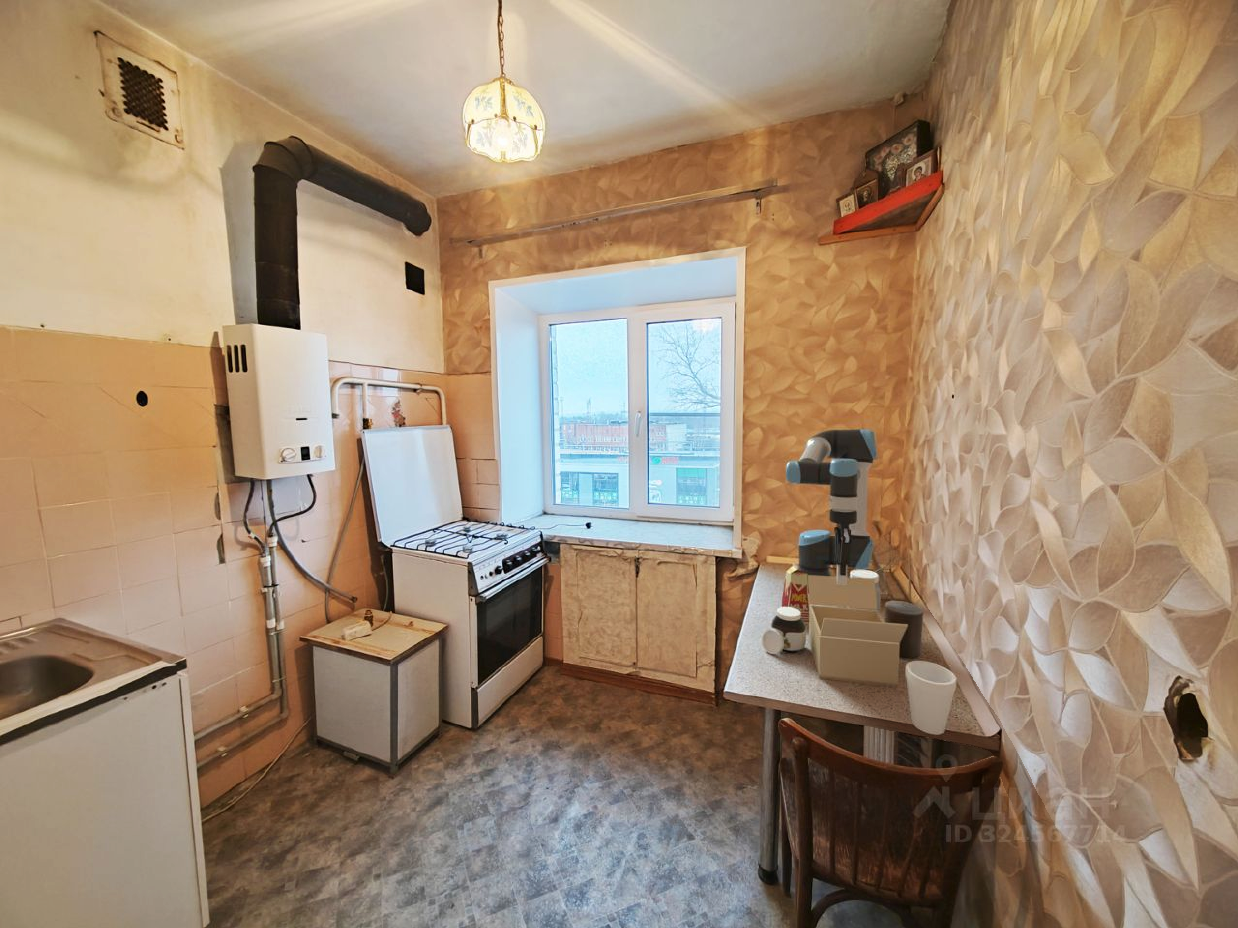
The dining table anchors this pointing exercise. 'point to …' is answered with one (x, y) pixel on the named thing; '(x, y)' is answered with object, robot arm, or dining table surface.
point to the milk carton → (796, 592)
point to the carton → (852, 650)
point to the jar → (868, 575)
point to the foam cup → (930, 695)
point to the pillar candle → (913, 634)
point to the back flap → (842, 592)
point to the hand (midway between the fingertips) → (841, 584)
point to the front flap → (863, 630)
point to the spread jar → (785, 632)
